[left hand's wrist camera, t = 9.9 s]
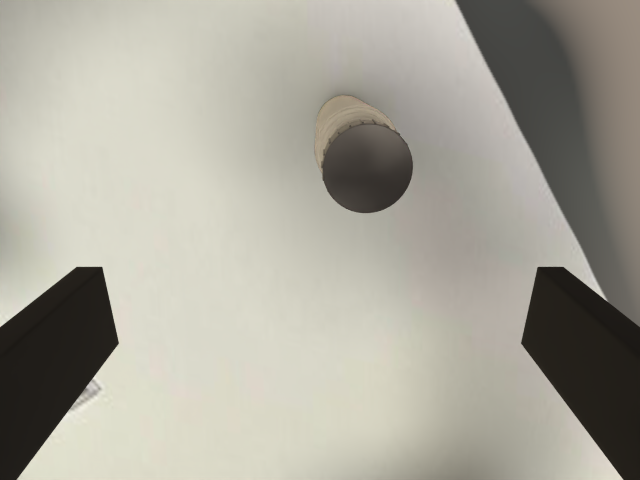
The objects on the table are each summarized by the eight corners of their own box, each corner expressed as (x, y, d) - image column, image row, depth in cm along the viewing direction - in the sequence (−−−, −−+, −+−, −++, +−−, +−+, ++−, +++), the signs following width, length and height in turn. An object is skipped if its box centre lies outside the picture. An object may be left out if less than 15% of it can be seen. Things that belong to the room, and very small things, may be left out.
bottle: (337, 83, 38) (354, 89, 19) (382, 116, 39) (442, 153, 20) (306, 131, 40) (292, 182, 20) (350, 161, 41) (377, 238, 21)
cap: (353, 100, 20) (356, 102, 19) (423, 151, 21) (433, 158, 19) (305, 173, 22) (303, 182, 20) (372, 217, 23) (377, 230, 21)
